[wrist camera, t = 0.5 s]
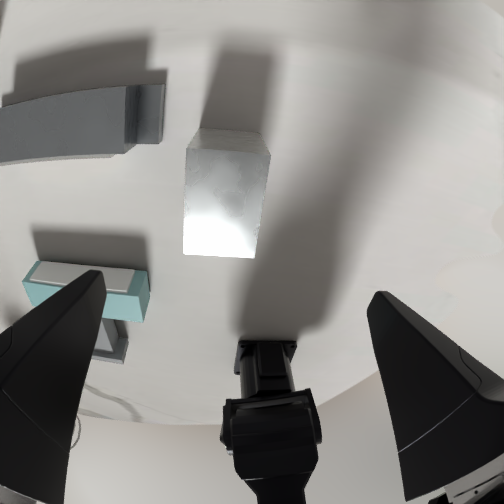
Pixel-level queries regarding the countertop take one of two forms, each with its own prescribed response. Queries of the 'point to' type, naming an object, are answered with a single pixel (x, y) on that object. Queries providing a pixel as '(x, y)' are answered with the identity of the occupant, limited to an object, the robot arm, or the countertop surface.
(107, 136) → the gray curved slab
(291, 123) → the countertop surface
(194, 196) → the block
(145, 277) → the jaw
